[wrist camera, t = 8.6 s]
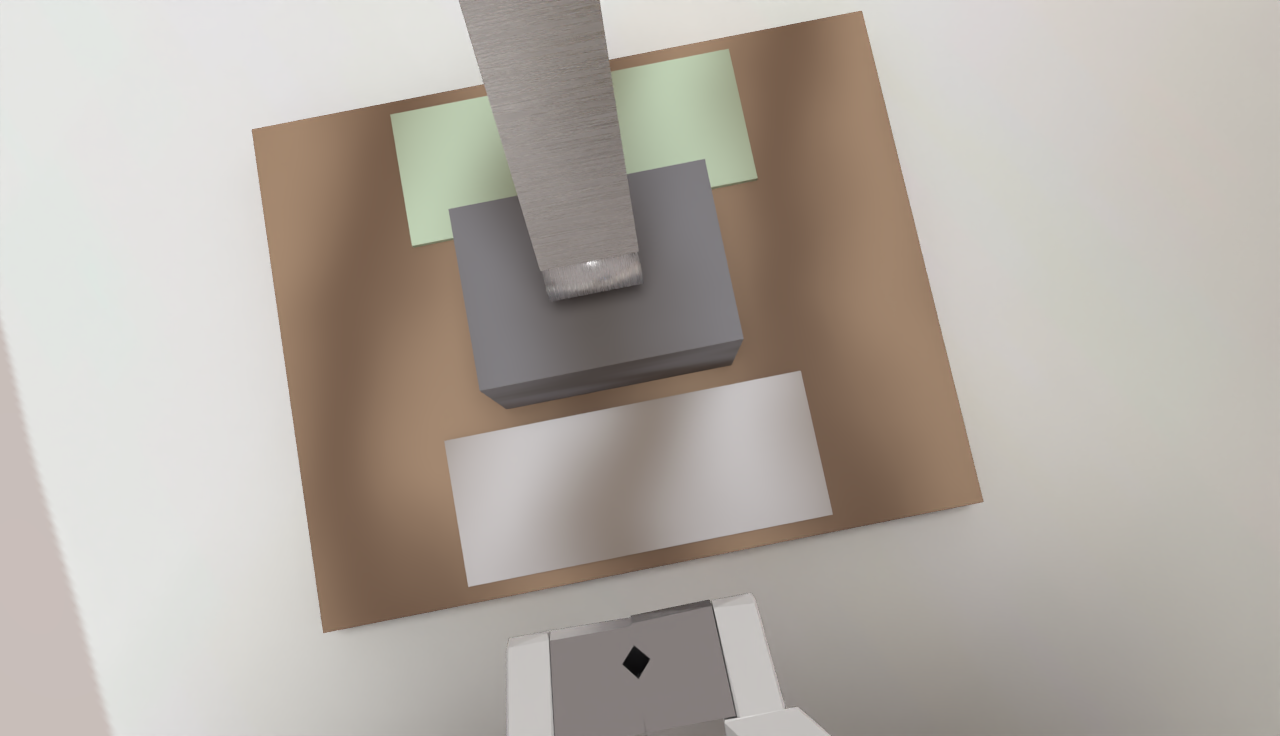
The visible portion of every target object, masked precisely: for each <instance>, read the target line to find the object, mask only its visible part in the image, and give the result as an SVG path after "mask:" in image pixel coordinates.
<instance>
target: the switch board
mask: <svg viewBox="0 0 1280 736" xmlns="http://www.w3.org/2000/svg"><path fill="white" fill-rule="evenodd" d="M609 64H610V70H611V77H612V83H613V90H614V96H615V102H616V109H617V115H618V122H619V128H620V134H621V141H622V147H623V153H624V160H625V166H626V173H627V179H628V185H629V192H630V198H631V205H632V211H633V217H634V224H635V230H636V236H637V243H638V249H639V252H638V253H639V258H640V263H641V269H642V275H643V282H644V284H638V285H633V286H628V287H623V288H618V289H613V290H608V291H603V292H598V293H593V294H588V295H582V296H577V297H572V298H567V299H562V300H557V301H552V302H550V301H549V298H548V295H547V291H546V288H545V283H544V279H543V275H542V271H540V268H539V265H538V262H537V258H536V255H535V252H534V248H533V245H532V242H531V239H530V235H529V232H528V229H527V225H526V222H525V219H524V215H523V212H522V209H521V205H520V202H519V199H518V195H517V192H516V189H515V185H514V182H513V179H512V175H511V172H510V169H509V165H508V162H507V159H506V156H505V152H504V149H503V146H502V142H501V139H500V136H499V132H498V129H497V126H496V122H495V119H494V116H493V112H492V109H491V106H490V102H489V99H488V96H487V92H486V89H485V86H484V84H483V85H478V86H473V87H467V88H462V89H457V90H452V91H447V92H442V93H437V94H432V95H426V96H421V97H416V98H411V99H406V100H401V101H396V102H390V103H385V104H380V105H375V106H370V107H365V108H360V109H354V110H349V111H344V112H339V113H334V114H329V115H324V116H319V117H313V118H308V119H303V120H298V121H293V122H288V123H283V124H277V125H272V126H267V127H262V128H257V129H252V134H253V141H254V149H255V156H256V163H257V170H258V177H259V184H260V191H261V198H262V205H263V212H264V219H265V226H266V233H267V240H268V247H269V254H270V261H271V268H272V275H273V282H274V289H275V296H276V303H277V310H278V317H279V325H280V332H281V339H282V346H283V353H284V360H285V367H286V374H287V381H288V388H289V395H290V402H291V409H292V416H293V423H294V430H295V437H296V444H297V451H298V458H299V465H300V472H301V479H302V486H303V494H304V501H305V508H306V515H307V522H308V529H309V536H310V543H311V550H312V557H313V564H314V571H315V578H316V585H317V592H318V599H319V606H320V613H321V620H322V627H323V633H326V632H331V631H336V630H341V629H346V628H351V627H356V626H361V625H366V624H371V623H376V622H381V621H386V620H391V619H396V618H401V617H407V616H412V615H417V614H422V613H427V612H432V611H437V610H442V609H447V608H452V607H457V606H462V605H467V604H472V603H477V602H482V601H487V600H492V599H497V598H502V597H507V596H512V595H517V594H522V593H527V592H532V591H537V590H542V589H547V588H552V587H558V586H563V585H568V584H573V583H578V582H583V581H588V580H593V579H598V578H603V577H608V576H613V575H618V574H623V573H628V572H633V571H638V570H643V569H648V568H653V567H658V566H663V565H668V564H673V563H678V562H683V561H688V560H693V559H698V558H703V557H708V556H714V555H719V554H724V553H729V552H734V551H739V550H744V549H749V548H754V547H759V546H764V545H769V544H774V543H779V542H784V541H789V540H794V539H799V538H804V537H809V536H814V535H819V534H824V533H829V532H834V531H839V530H844V529H849V528H854V527H859V526H864V525H870V524H875V523H880V522H885V521H890V520H895V519H900V518H905V517H910V516H915V515H920V514H925V513H930V512H935V511H940V510H945V509H950V508H955V507H960V506H965V505H970V504H975V503H980V502H983V498H982V494H981V490H980V486H979V482H978V478H977V474H976V470H975V466H974V462H973V458H972V454H971V450H970V445H969V441H968V437H967V433H966V429H965V425H964V421H963V417H962V413H961V409H960V405H959V401H958V397H957V393H956V389H955V385H954V381H953V377H952V373H951V369H950V365H949V361H948V357H947V353H946V349H945V345H944V340H943V336H942V332H941V328H940V324H939V320H938V316H937V312H936V308H935V304H934V300H933V296H932V292H931V288H930V284H929V280H928V276H927V272H926V268H925V264H924V260H923V256H922V252H921V248H920V244H919V240H918V235H917V231H916V227H915V223H914V219H913V215H912V211H911V207H910V203H909V199H908V195H907V191H906V187H905V183H904V179H903V175H902V171H901V167H900V163H899V159H898V155H897V151H896V147H895V143H894V139H893V135H892V130H891V126H890V122H889V118H888V114H887V110H886V106H885V102H884V98H883V94H882V90H881V86H880V82H879V78H878V74H877V70H876V66H875V62H874V58H873V54H872V50H871V46H870V42H869V38H868V34H867V30H866V25H865V21H864V17H863V13H862V11H858V12H853V13H848V14H842V15H837V16H832V17H827V18H822V19H817V20H812V21H806V22H801V23H796V24H791V25H786V26H781V27H776V28H770V29H765V30H760V31H755V32H750V33H745V34H740V35H735V36H729V37H724V38H719V39H714V40H709V41H704V42H699V43H693V44H688V45H683V46H678V47H673V48H668V49H663V50H657V51H652V52H647V53H642V54H637V55H632V56H627V57H622V58H616V59H611V60H609Z"/></svg>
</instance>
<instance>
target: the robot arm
mask: <svg viewBox="0 0 1280 736" xmlns="http://www.w3.org/2000/svg"><path fill="white" fill-rule="evenodd" d="M506 736H831V735H830V734H829V733H828V732H826V731H825V730H824V729H823V728H822V727H821V726H820V725H818V724H817V723H816V722H815V721H814V720H813V719H812V718H810V717H809V716H808V715H807V714H806V713H805V712H804V711H802V710H801V709H800V708H799V707H791V708H785V704H784V701H783V697H782V693H781V690H780V686H779V682H778V679H777V675H776V671H775V668H774V664H773V661H772V657H771V653H770V650H769V646H768V642H767V639H766V635H765V631H764V628H763V624H762V620H761V617H760V613H759V609H758V606H757V602H756V599H755V598H754V596H753V595H752V593H747V594H741V595H736V596H731V597H726V598H721V599H715V600H712V601H711V602H710V600H706V601H701V602H696V603H691V604H686V605H681V606H676V607H671V608H666V609H661V610H657V611H652V612H647V613H642V614H637V615H632V616H631V617H630V618H624V619H618V620H612V621H605V622H599V623H593V624H587V625H581V626H575V627H569V628H563V629H556V630H551V631H545V632H540V633H534V634H529V635H523V636H517V637H512V638H509V641H508V645H507V649H506Z"/></svg>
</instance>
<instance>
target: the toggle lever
mask: <svg viewBox="0 0 1280 736" xmlns="http://www.w3.org/2000/svg"><path fill="white" fill-rule="evenodd" d="M459 3H460V6H461V9H462V13H463V16H464V19H465V23H466V26H467V29H468V33H469V36H470V39H471V43H472V46H473V49H474V53H475V56H476V59H477V63H478V66H479V69H480V73H481V76H482V79H483V83H484V86H485V89H486V92H487V96H488V99H489V102H490V106H491V109H492V112H493V116H494V119H495V122H496V126H497V129H498V132H499V136H500V139H501V142H502V146H503V149H504V152H505V156H506V159H507V162H508V165H509V169H510V172H511V175H512V179H513V182H514V185H515V189H516V192H517V195H518V199H519V202H520V205H521V209H522V212H523V215H524V219H525V222H526V225H527V229H528V232H529V235H530V239H531V242H532V245H533V248H534V252H535V255H536V258H537V262H538V265H539V268H540V271H542V275H543V279H544V283H545V288H546V291H547V295H548V298H549V301H550V302H552V301H557V300H562V299H567V298H572V297H577V296H582V295H588V294H593V293H598V292H603V291H608V290H613V289H618V288H623V287H628V286H633V285H638V284H644V282H643V275H642V269H641V263H640V258H639V253H638V252H639V249H638V243H637V236H636V230H635V224H634V217H633V211H632V205H631V198H630V192H629V185H628V179H627V173H626V166H625V160H624V153H623V147H622V141H621V134H620V128H619V122H618V115H617V109H616V102H615V96H614V90H613V83H612V77H611V70H610V64H609V58H608V51H607V45H606V39H605V32H604V26H603V19H602V13H601V7H600V0H459Z"/></svg>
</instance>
